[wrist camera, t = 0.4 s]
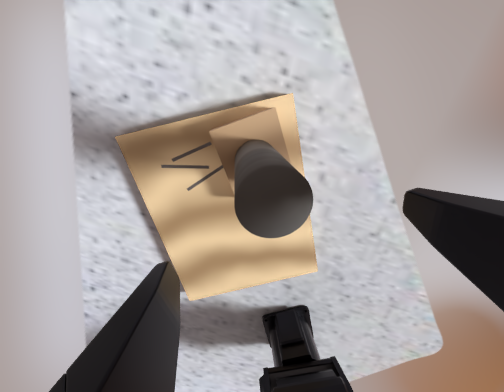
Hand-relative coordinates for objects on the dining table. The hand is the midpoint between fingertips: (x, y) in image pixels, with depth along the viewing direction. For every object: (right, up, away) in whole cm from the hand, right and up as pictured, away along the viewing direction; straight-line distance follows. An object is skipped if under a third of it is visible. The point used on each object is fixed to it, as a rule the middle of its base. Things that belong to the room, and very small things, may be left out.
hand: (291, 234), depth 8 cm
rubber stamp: (-1, +5, +13) cm, 14 cm away
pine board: (-4, 0, +16) cm, 16 cm away
